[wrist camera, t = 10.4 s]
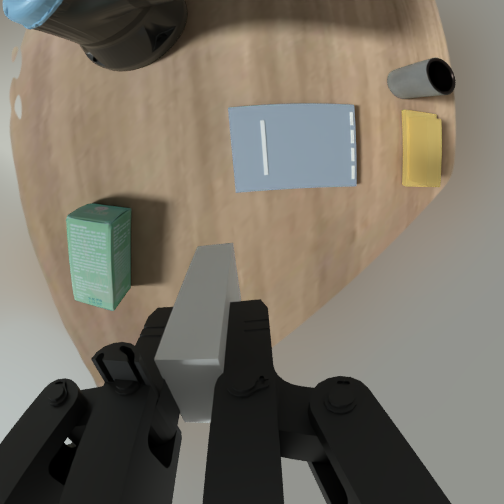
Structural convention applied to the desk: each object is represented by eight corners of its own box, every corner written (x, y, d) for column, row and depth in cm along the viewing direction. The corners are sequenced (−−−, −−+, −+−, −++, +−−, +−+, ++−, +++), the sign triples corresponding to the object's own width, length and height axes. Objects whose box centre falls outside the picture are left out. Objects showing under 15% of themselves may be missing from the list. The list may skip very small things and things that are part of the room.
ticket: (228, 108, 33) (228, 107, 31) (350, 105, 32) (354, 104, 31) (236, 190, 37) (235, 192, 36) (353, 184, 37) (356, 186, 35)
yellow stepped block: (401, 109, 32) (424, 108, 26) (431, 114, 32) (455, 115, 26) (402, 184, 36) (423, 194, 31) (431, 185, 36) (454, 194, 31)
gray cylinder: (390, 99, 31) (430, 93, 22) (383, 69, 30) (422, 55, 20) (415, 99, 31) (458, 96, 22) (409, 70, 29) (451, 60, 20)
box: (132, 205, 38) (109, 222, 31) (132, 286, 43) (115, 312, 36) (90, 200, 37) (63, 215, 30) (94, 278, 43) (73, 301, 36)
